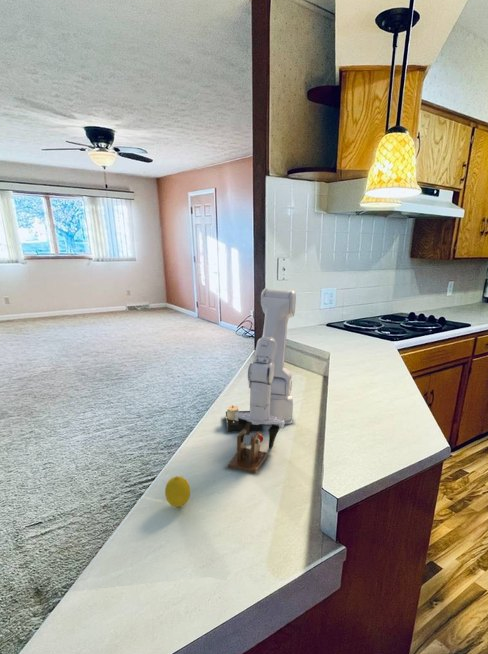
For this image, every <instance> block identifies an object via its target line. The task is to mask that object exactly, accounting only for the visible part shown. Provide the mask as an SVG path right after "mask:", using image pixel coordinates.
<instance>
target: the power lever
mask: <svg viewBox="0 0 488 654" xmlns="http://www.w3.org/2000/svg"><path fill="white" fill-rule="evenodd" d="M253 436H254V434H253V435H252V434H249V435H244V438H243V444H246V446H251V438H252V437H253ZM263 441H264V435H263V434H262V433H260V444H261V443H262V442H263Z"/></svg>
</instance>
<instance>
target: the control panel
mask: <svg viewBox="0 0 488 654" xmlns="http://www.w3.org/2000/svg"><path fill="white" fill-rule="evenodd" d="M238 412H243V413H250V410H238ZM220 419H221V420H222V419H224V420H225V422H226V429H227V433H240V430H239V428H238V427H237V423H238V421H236V420H229V419H228V418H227V411H225V417H220ZM262 431H263V424H259V425H254V424H252V422H250V427H249V432H262Z"/></svg>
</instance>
